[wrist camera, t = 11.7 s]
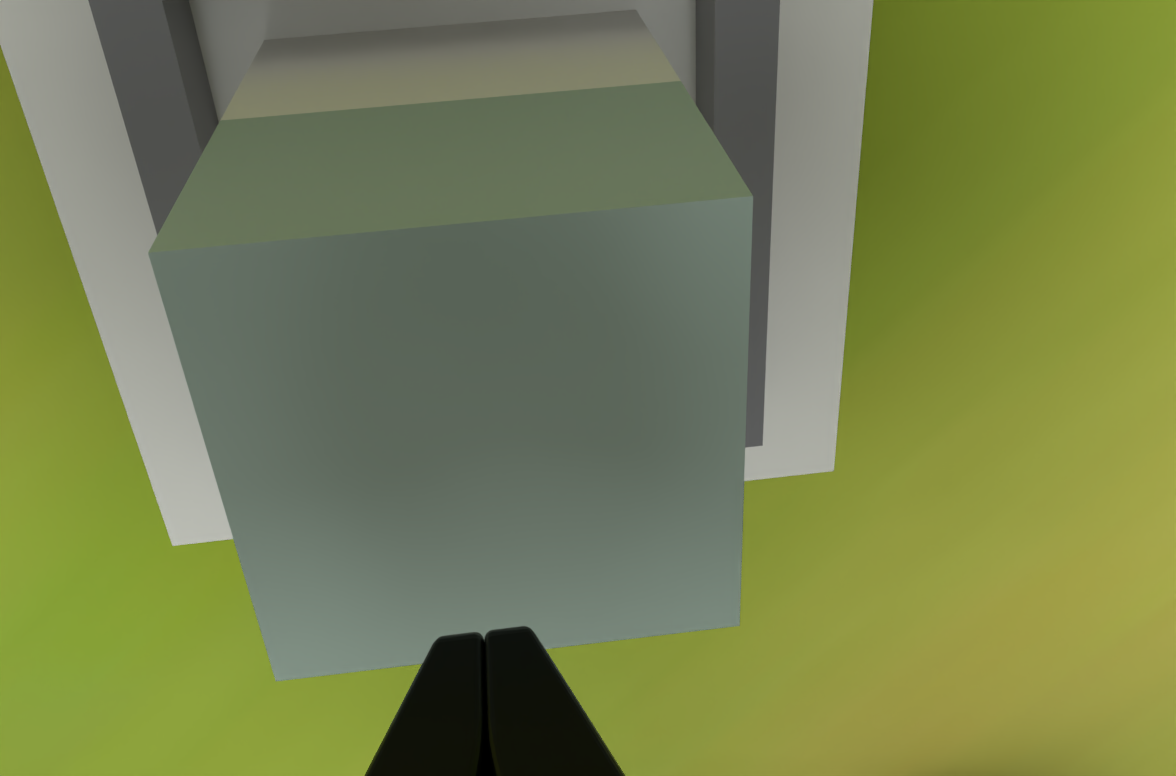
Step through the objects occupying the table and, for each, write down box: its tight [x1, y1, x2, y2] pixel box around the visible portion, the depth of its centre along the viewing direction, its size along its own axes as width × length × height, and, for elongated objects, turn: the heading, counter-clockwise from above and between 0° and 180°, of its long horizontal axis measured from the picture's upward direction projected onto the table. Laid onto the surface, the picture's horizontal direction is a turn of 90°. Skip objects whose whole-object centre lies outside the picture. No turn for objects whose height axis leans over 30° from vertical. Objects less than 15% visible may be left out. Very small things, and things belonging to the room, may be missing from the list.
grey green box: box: [148, 10, 753, 681], centre depth 16 cm, size 6×6×8 cm
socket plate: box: [0, 0, 873, 546], centre depth 19 cm, size 14×14×3 cm
